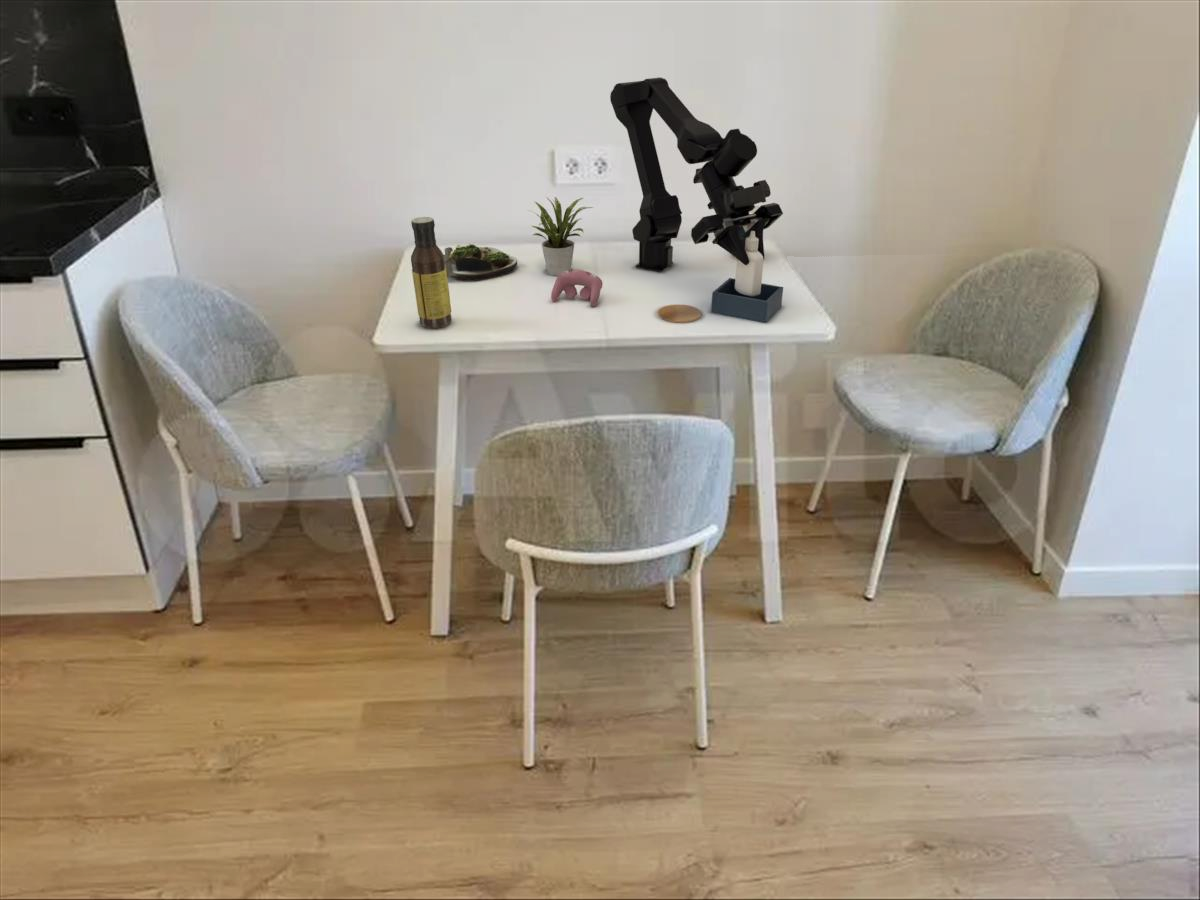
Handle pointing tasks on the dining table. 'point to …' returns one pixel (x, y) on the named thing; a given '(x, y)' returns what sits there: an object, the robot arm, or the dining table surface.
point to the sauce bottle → (429, 276)
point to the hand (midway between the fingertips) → (755, 262)
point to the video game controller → (577, 277)
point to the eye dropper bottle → (750, 269)
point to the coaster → (679, 313)
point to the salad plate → (477, 262)
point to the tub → (747, 302)
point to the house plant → (558, 237)
